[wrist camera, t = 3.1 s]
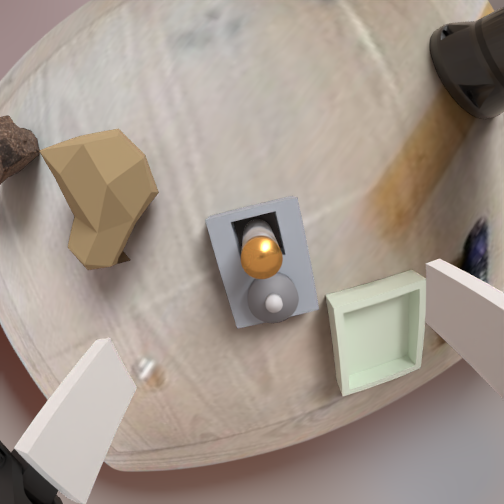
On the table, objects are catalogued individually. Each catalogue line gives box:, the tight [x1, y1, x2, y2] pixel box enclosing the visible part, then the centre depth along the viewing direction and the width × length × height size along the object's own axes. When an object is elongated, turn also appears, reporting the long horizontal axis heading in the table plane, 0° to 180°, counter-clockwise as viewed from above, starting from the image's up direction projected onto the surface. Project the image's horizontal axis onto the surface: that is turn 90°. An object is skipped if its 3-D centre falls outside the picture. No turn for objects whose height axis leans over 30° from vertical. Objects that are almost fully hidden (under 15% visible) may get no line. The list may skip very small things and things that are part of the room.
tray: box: [326, 270, 426, 396], centre depth 32 cm, size 14×12×4 cm
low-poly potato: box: [40, 129, 159, 270], centre depth 24 cm, size 15×11×12 cm
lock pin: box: [241, 219, 283, 279], centre depth 25 cm, size 3×3×10 cm
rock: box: [0, 116, 40, 184], centre depth 22 cm, size 12×10×10 cm
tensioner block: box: [205, 196, 319, 329], centre depth 28 cm, size 12×9×6 cm
